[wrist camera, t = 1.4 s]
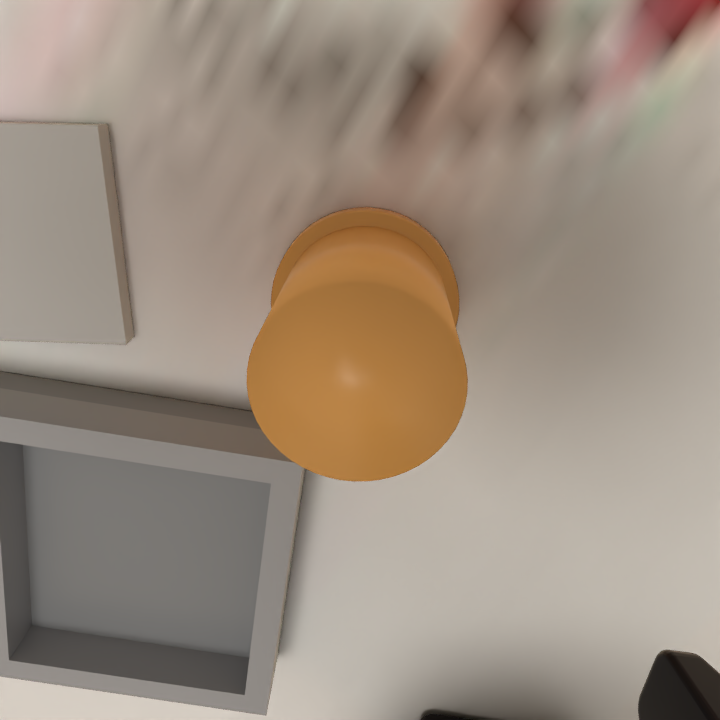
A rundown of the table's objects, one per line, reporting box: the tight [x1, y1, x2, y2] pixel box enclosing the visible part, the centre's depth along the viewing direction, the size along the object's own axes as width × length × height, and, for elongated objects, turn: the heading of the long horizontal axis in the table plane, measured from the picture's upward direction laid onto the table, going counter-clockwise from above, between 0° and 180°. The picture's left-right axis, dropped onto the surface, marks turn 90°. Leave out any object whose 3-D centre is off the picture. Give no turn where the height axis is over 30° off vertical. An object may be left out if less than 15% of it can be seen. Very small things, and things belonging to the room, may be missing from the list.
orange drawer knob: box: [247, 207, 468, 481], centre depth 16 cm, size 5×5×6 cm
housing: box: [0, 371, 305, 715], centre depth 21 cm, size 18×10×2 cm, turn 81°
